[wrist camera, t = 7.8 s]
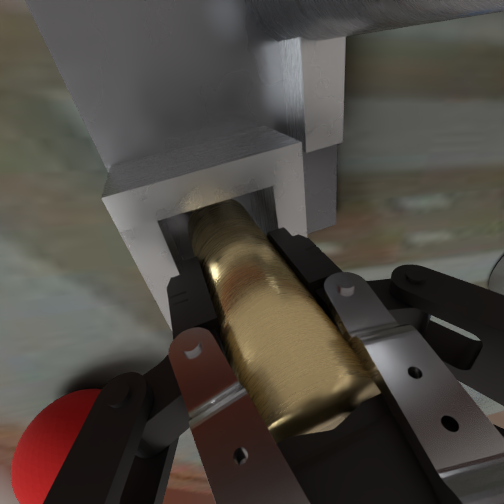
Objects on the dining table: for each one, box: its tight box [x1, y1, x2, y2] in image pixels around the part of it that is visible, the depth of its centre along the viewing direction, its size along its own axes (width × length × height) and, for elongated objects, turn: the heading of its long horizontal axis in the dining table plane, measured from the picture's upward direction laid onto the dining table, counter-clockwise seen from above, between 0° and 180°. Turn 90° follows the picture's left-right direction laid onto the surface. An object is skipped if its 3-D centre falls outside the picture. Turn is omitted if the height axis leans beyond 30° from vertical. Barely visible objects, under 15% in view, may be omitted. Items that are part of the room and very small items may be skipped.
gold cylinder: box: [187, 199, 381, 443], centre depth 10 cm, size 3×3×10 cm
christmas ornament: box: [11, 389, 102, 504], centre depth 18 cm, size 7×7×10 cm
